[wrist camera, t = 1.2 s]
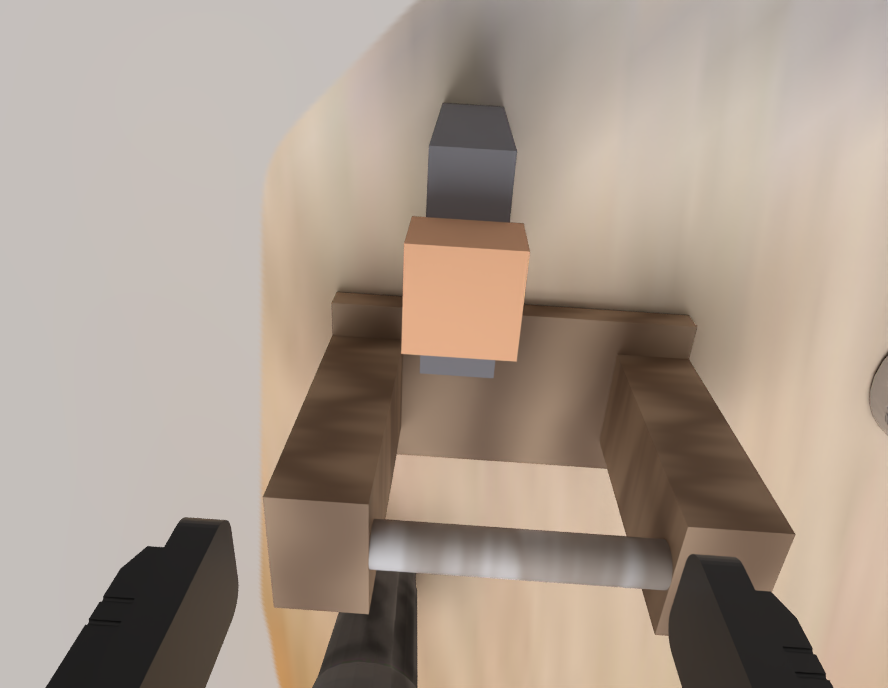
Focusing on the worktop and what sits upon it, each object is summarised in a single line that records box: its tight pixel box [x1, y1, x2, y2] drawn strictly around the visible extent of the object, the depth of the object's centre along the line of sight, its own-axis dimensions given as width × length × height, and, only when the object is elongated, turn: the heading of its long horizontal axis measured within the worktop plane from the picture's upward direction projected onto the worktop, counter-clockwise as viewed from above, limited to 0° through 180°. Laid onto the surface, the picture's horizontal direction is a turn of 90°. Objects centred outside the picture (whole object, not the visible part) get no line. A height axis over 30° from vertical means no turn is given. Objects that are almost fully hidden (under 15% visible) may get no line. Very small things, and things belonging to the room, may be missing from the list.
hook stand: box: [263, 292, 795, 636], centre depth 32 cm, size 20×10×15 cm, turn 87°
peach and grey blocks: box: [401, 103, 530, 378], centre depth 28 cm, size 4×9×14 cm, turn 177°
